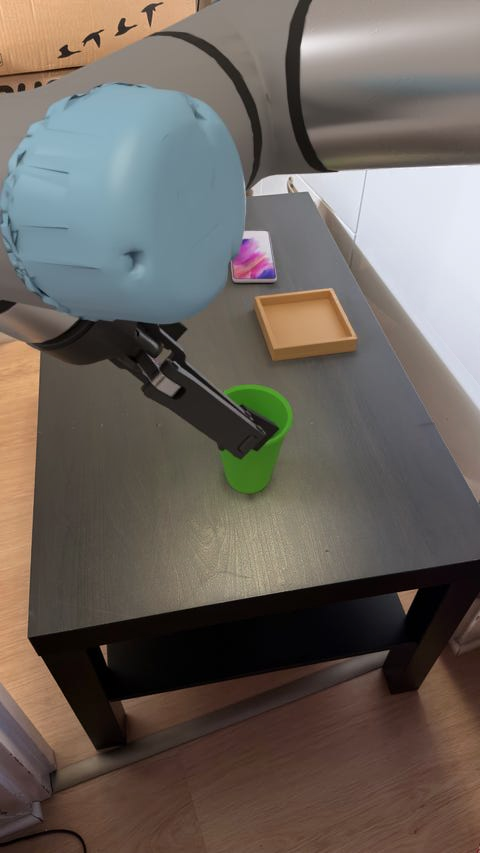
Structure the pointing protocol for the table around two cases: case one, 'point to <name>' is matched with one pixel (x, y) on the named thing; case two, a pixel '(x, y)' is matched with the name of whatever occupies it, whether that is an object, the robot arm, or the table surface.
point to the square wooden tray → (304, 324)
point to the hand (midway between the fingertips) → (218, 384)
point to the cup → (260, 465)
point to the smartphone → (254, 259)
